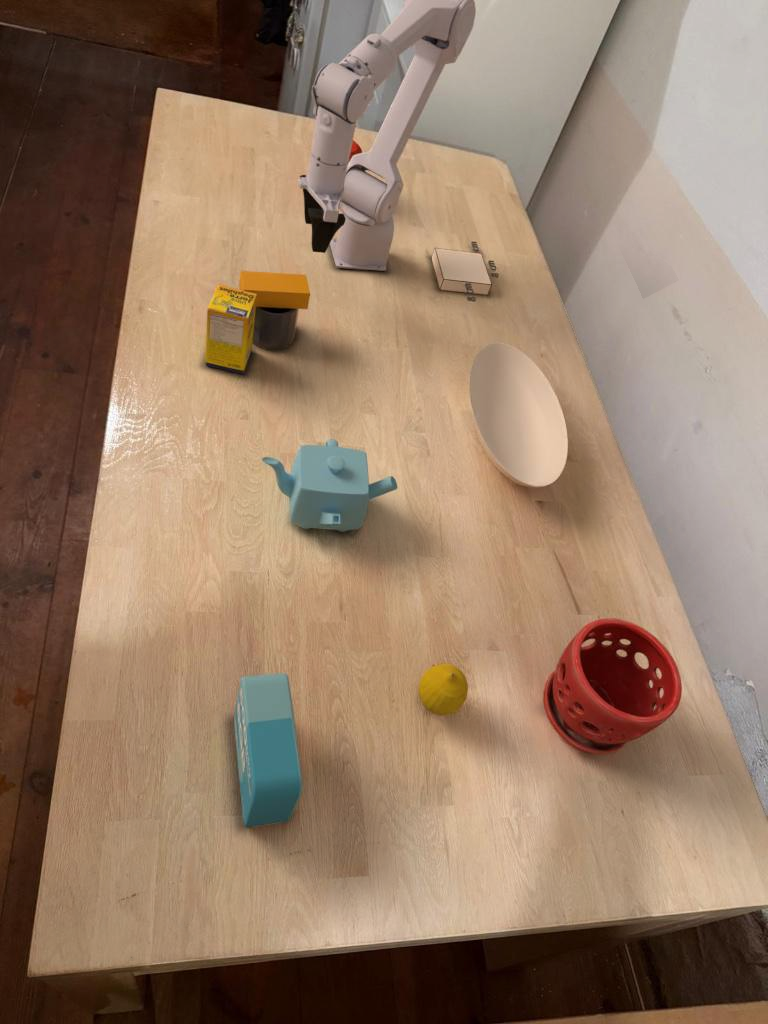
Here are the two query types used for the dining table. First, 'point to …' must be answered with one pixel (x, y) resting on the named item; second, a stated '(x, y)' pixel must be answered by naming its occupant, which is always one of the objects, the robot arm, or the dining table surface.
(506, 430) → the bowl
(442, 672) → the fruit
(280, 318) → the cup
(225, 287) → the supplement box
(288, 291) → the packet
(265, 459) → the teapot
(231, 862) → the dining table surface
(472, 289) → the container
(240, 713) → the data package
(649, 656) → the flower pot
